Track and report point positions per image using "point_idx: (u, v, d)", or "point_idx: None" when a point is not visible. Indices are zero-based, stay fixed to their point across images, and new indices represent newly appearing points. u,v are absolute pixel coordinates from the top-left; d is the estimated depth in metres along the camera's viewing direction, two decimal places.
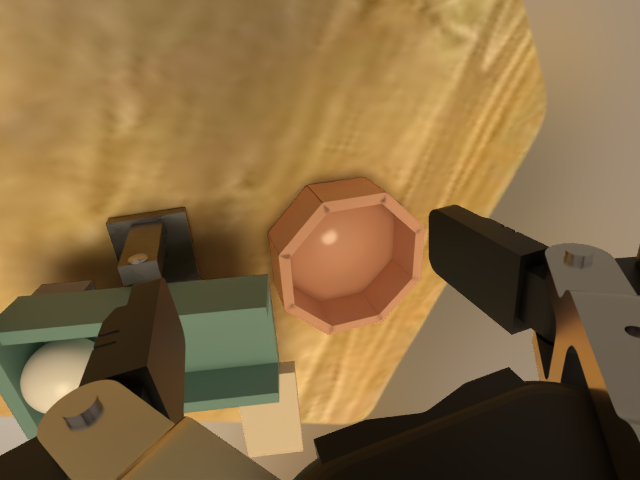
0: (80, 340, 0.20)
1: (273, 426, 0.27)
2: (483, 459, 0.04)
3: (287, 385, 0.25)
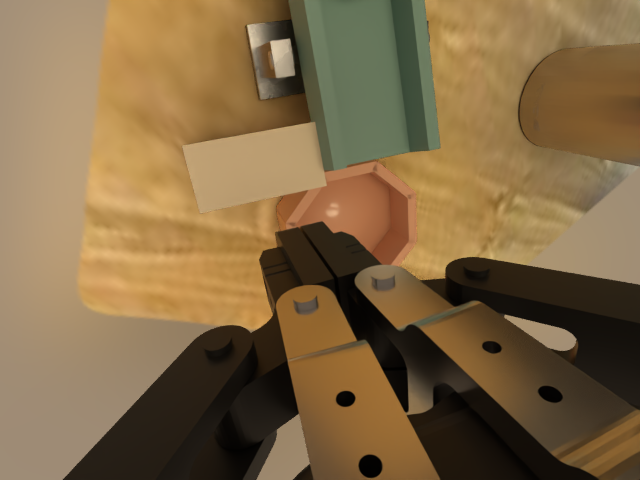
0: None
1: (243, 171, 0.23)
2: (483, 459, 0.04)
3: (307, 180, 0.24)
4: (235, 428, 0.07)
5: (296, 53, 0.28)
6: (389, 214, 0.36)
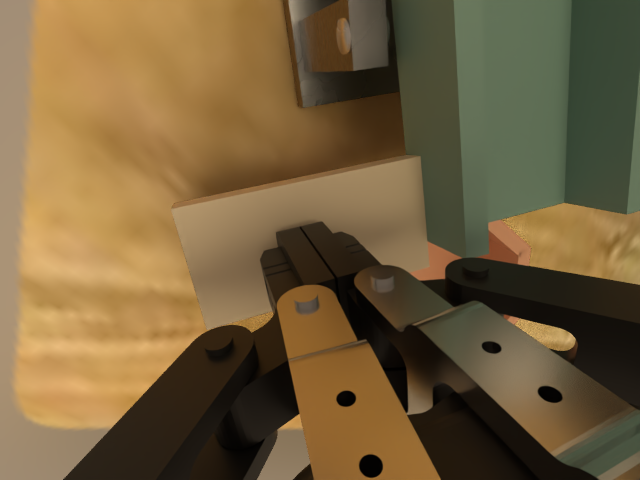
0: None
1: None
2: (483, 459, 0.04)
3: (399, 260, 0.13)
4: (236, 428, 0.07)
5: None
6: None
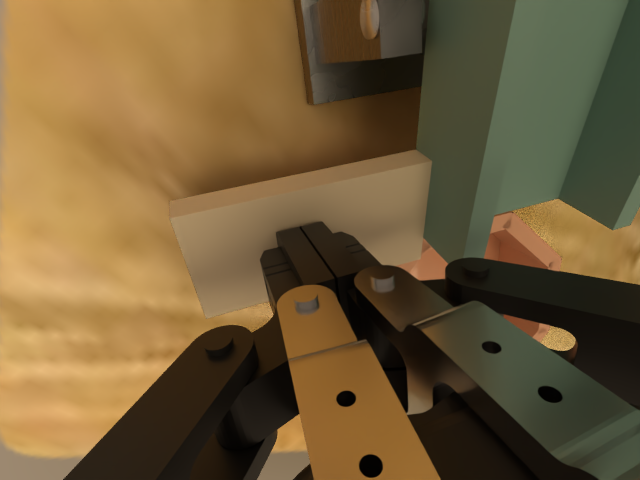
0: None
1: None
2: (483, 459, 0.04)
3: (393, 254, 0.14)
4: (236, 428, 0.07)
5: None
6: None
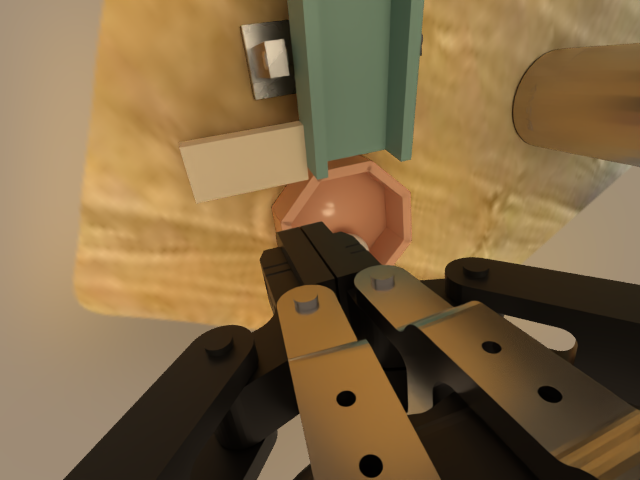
0: None
1: (235, 168, 0.25)
2: (483, 459, 0.04)
3: (292, 175, 0.27)
4: (236, 428, 0.07)
5: (291, 53, 0.28)
6: (384, 213, 0.37)
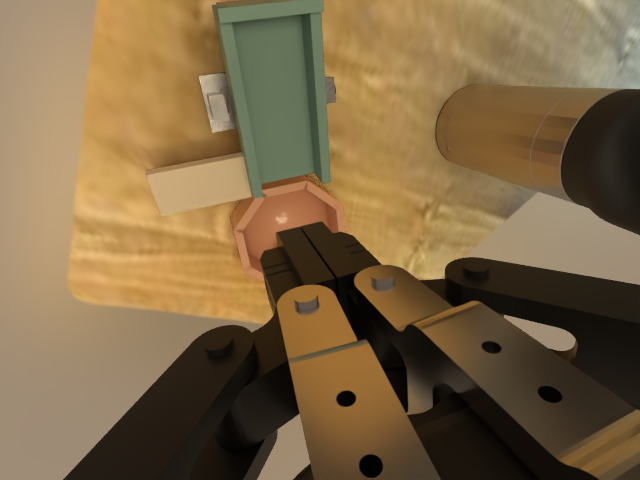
0: None
1: (191, 189, 0.32)
2: (483, 459, 0.04)
3: (238, 194, 0.34)
4: (236, 428, 0.07)
5: None
6: (327, 221, 0.44)
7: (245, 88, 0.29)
